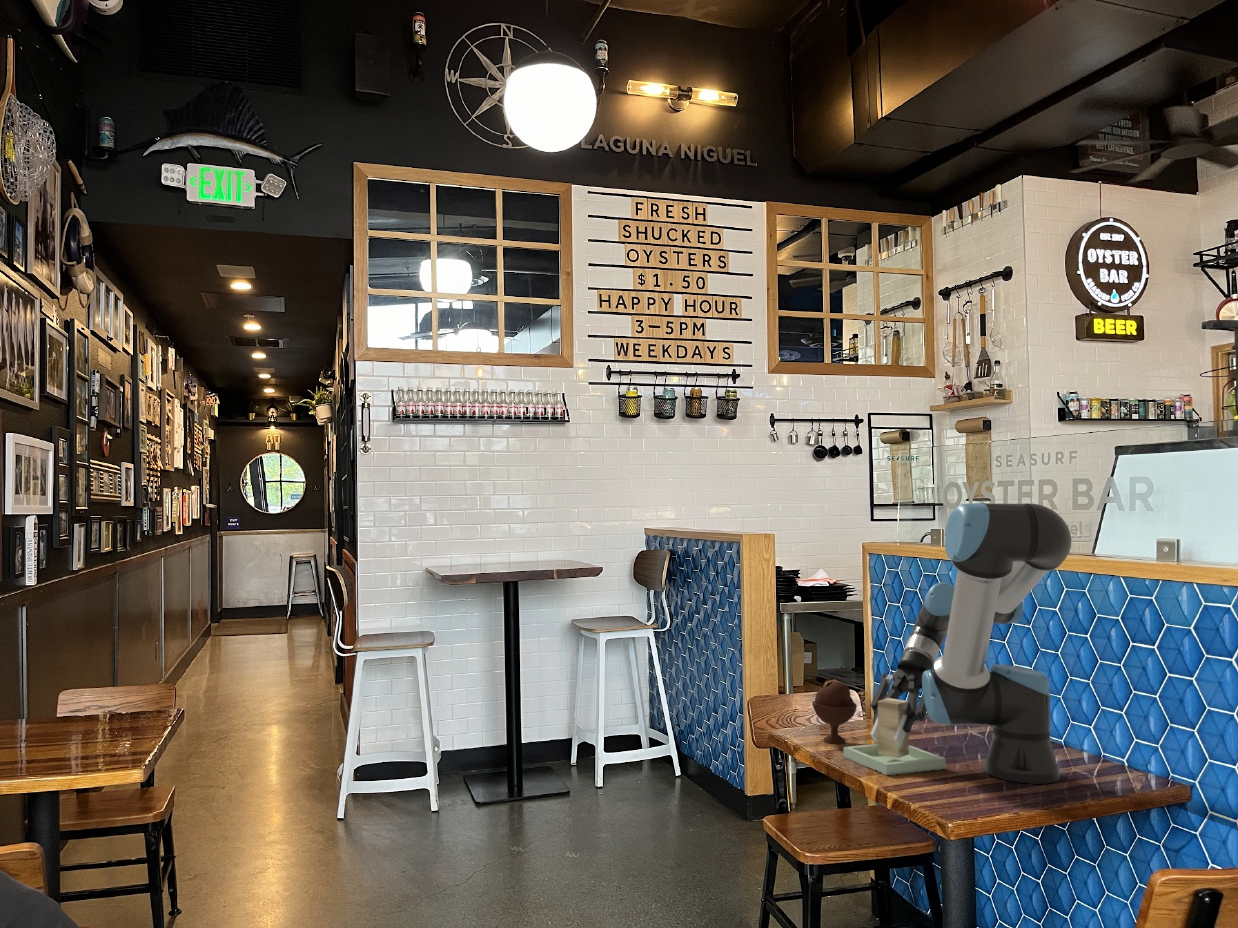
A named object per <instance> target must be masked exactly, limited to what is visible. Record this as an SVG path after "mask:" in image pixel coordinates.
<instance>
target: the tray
mask: <svg viewBox="0 0 1238 928" xmlns="http://www.w3.org/2000/svg"><path fill="white" fill-rule="evenodd" d="M843 759H846V760H848V761H850V762H853V763H856V764H858V765H860V766H862V765H863V766H862V767H864V768H867V767H869V768H872V769H874V770H877V771H878V772H877V773H879V772H881V773H882V775H883V774H885V775H884V776H886V775H890V776H897V775H896V774H899V775H905V774H915V772H917V773H923V772H924V773H925V771H926V772H932V771H931V770H935V771H941V770H942V769H944V770H946V769H947V760H946V757H943V756H940V755H938V754H934V753H932V752H929V751H926V750H923V749H921V748H919V747H915V746H912V745H909V754H908V755H905V756H903V757H900V758H895V757H890V756H885V755H881V754H878V743H874V744H873V743H871V744H864V745H852V746H850V745H849V746H844V747H843ZM869 768H868V769H869ZM872 769H871V770H872ZM874 770H873V771H874ZM942 771H943V770H942ZM881 773H880V774H881Z"/></svg>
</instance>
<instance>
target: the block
mask: <svg viewBox="0 0 1238 928" xmlns="http://www.w3.org/2000/svg"><path fill="white" fill-rule="evenodd" d="M907 708H908V700H903V699H899V698H897V699H891V698H887V699H883V700H880V701H878V742H877V744H878V754H881V755H885V756H890V757H895V758H900V757H903V756H905V755H908V754H909V744H910V740H909V737H910V736H909V733H910V732H909V733H907V732H906V734H905V737H904V739H903V742H902V744H901V746H897V744H896V742H895V740H894V736H895V734H896V731H897V728H898V726H899V724H900V721H901V719H902V716H903V715H906V716H907V714H906V712H907Z"/></svg>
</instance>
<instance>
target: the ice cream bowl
mask: <svg viewBox="0 0 1238 928" xmlns="http://www.w3.org/2000/svg"><path fill="white" fill-rule="evenodd" d="M811 704H812V709H814V712H815V714H816V716H817V717H818V718H819V719H820V720H821V721H822V722H824V723H825V724H827V725H829V726H830V734H829V735H827V736H824V737H823V742H824V743H827V744H831V745H842V744H841V743H843V744H846V743H845V742H846V739H845V738H843V737H842V736H841V735H839V727H840V726H841V725H843V724H845V723H847V722H849V721H850V720H851V719H852V718H853V717H854V716H855V713H856V712H857V707H858V704H856V702H854V699H853V698H852V697H851V690H850V688H849V686H848V685H847V684H846V683H844V682H843V681H833V682H831V683H830V684H829V685H828V686H825V687H824V686H823V687H822V688H820V689H819V690H818V691H817V692H816V694H815V696H814V700H812V701H811ZM839 743H840V744H839Z"/></svg>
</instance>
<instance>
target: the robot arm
mask: <svg viewBox="0 0 1238 928" xmlns="http://www.w3.org/2000/svg"><path fill="white" fill-rule="evenodd" d="M946 521H947V522H946V525H945V531H944V537H945V540H944V549H945V550H944V551H945V553H946V555H947V557H948V559H950V560H951V563H952V566H953V567H954V568H955V569H956V570H957V572H956V578H955V585H954V584H950V583H948V582H937V583H936V584H933V585H932V586H931V587H930V589H929V590H928V591H927V593H926V595H925V597H924V601H923V603H922V606H921V608H920V610H919V612H918V615H917V617H916V620H915V623H914V625H913V628H912V630H911V633H910V635H909V638H908V640H907V642H906V645H905V646H904V649H903V652H902V654H901V656H900V659H899V661H898V663H897V667H896V670H895V671H894V672H893V673H892V674H889V675H887V673H881V675H880V682H879V685H878V687H877V689H876V692H875V694H874V697H873V698H872V701H871V703H870V707H871V709H872V710H873V713H874V716H873V719H872V724H873V727H872V729H871V732H870V736H871V738H872V740H873V741H874V742H877V743H878V701H880V700H883V699H887V698H891V699H899V697H901V696H903V694H904V693H908V698H907V699H908V700H907V701H908V708H907V712H906V714H907V716H906V715H903V716H902V719H901V721H900V724H899V726H898V728H897V731H896V734H895V736H894V740H895V742H896V744H897V746H901V744H902V742H903V739H904V737H905V734H906V732H907V733H910V732H911V730H912V727H913V725H914V723H915V722H916V721H919V722H923V721H924V720H925V717H926V716H927V714H928V717H929V719H930V720H931V721H932V722H933V723H935V724H937V725H945V726H946V725H947V726H951V727H952V726H985V727H986V726H989V727H991V726H992V738H991V741H990V744H989V747H988V753H987V756H985V759H984V772H985V773H986V774H987V775H990V776H991V777H994V778H997V779H1000V780H1004V781H1008V782H1014V783H1015V782H1016V783H1021V784H1022V783H1023V784H1032V785H1033V784H1034V785H1037V784H1039V785H1041V784H1042V785H1045V784H1053V783H1056V782H1058V781H1059V780H1060V779H1061V772H1060V770H1061V769H1060V766H1059V764H1058V763H1057V759H1056V755H1055V752H1054V748H1053V746H1052V743H1051V718H1050V717H1051V713H1050V712H1051V702H1050V701H1051V693H1050V682H1049V679H1048V677H1047V676H1046V674H1044V673H1042V672H1040V671H1037V670H1033V669H1031V668H1030V669H1029V668H1025V667H1020V666H1015V665H1009V664H999V663H998V664H996V663H995V664H992V665H991V668H990V670H989V668H988V667H987V666H986V661H987V655H988V650H989V645H990V640H991V635H992V631H993V625H994V624H995V625H997V624H999V625H1008V624H1017V623H1019V622H1020V621H1021V620H1022V618H1023V615H1024V603H1023V601H1024V600H1025V598H1026V597H1027V596H1028V595H1029V594H1030V592H1031V591H1032V590H1033V589H1034V588H1035V587H1036V585H1037V584H1038V583H1040V581H1041V580H1042V579H1043V577H1045V575H1046V574H1047V573H1048V572H1050V571H1053V570H1055V569H1057V568H1059V567H1060V566H1061V565H1062V563H1063V562H1065V560H1066V559H1067V558H1068V556H1069V554H1070V551H1071V548H1072V533H1071V531H1070V529H1069V526H1068V524H1067V523H1066V521H1065V519H1063V518H1062V516H1061V515H1059V514H1058V513H1057V512H1056V511H1054V510H1053V509H1052V508H1049V507H1047V506H1045V505H1043V504H1042V505H1041V504H1039V503H985V502H979V501H978V502H974V503H961V504H959V505H958V506H956V507H955V508H953V510H952V511H951V513H950V514H949V516H948V519H947V520H946ZM944 640H945V642H944V649H943V655H941V656H939V657H938V655H939V652H940V650H941V647H942V644H943V641H944ZM937 657H938V658H937ZM893 681H894V682H893ZM890 686H891V688H890ZM920 690H922V694H921V697H920V699H919V701H918V698H919V694H920Z"/></svg>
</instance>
